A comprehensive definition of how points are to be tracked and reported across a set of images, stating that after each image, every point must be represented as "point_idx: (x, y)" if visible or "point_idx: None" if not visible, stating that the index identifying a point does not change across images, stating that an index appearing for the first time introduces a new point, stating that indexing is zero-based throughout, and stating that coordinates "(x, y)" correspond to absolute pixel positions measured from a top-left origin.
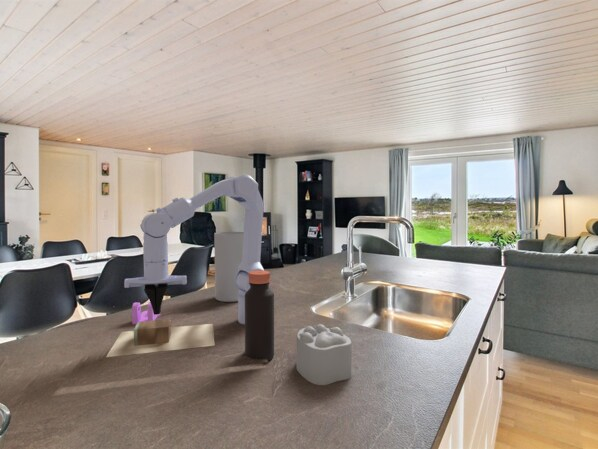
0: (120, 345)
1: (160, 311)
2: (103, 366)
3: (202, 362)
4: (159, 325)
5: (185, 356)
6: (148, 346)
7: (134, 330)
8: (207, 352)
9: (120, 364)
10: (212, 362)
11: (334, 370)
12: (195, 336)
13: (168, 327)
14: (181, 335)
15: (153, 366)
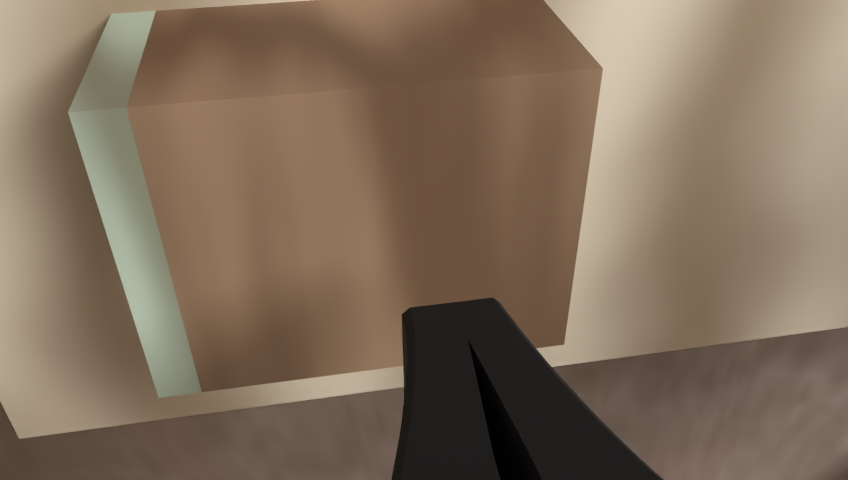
0: (12, 244)
1: (502, 309)
2: (59, 463)
3: (704, 445)
4: (454, 296)
5: (620, 377)
6: None
7: (170, 391)
8: (772, 338)
9: (178, 446)
10: (757, 447)
11: None
12: (777, 126)
13: (560, 337)
14: (647, 73)
15: None
